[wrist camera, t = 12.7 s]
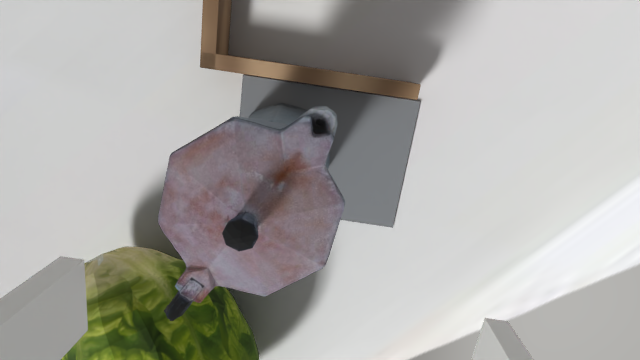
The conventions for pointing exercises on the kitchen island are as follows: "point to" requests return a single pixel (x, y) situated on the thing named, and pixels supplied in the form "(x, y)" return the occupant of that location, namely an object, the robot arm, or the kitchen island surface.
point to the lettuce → (155, 313)
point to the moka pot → (252, 203)
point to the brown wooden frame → (218, 59)
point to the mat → (352, 141)
